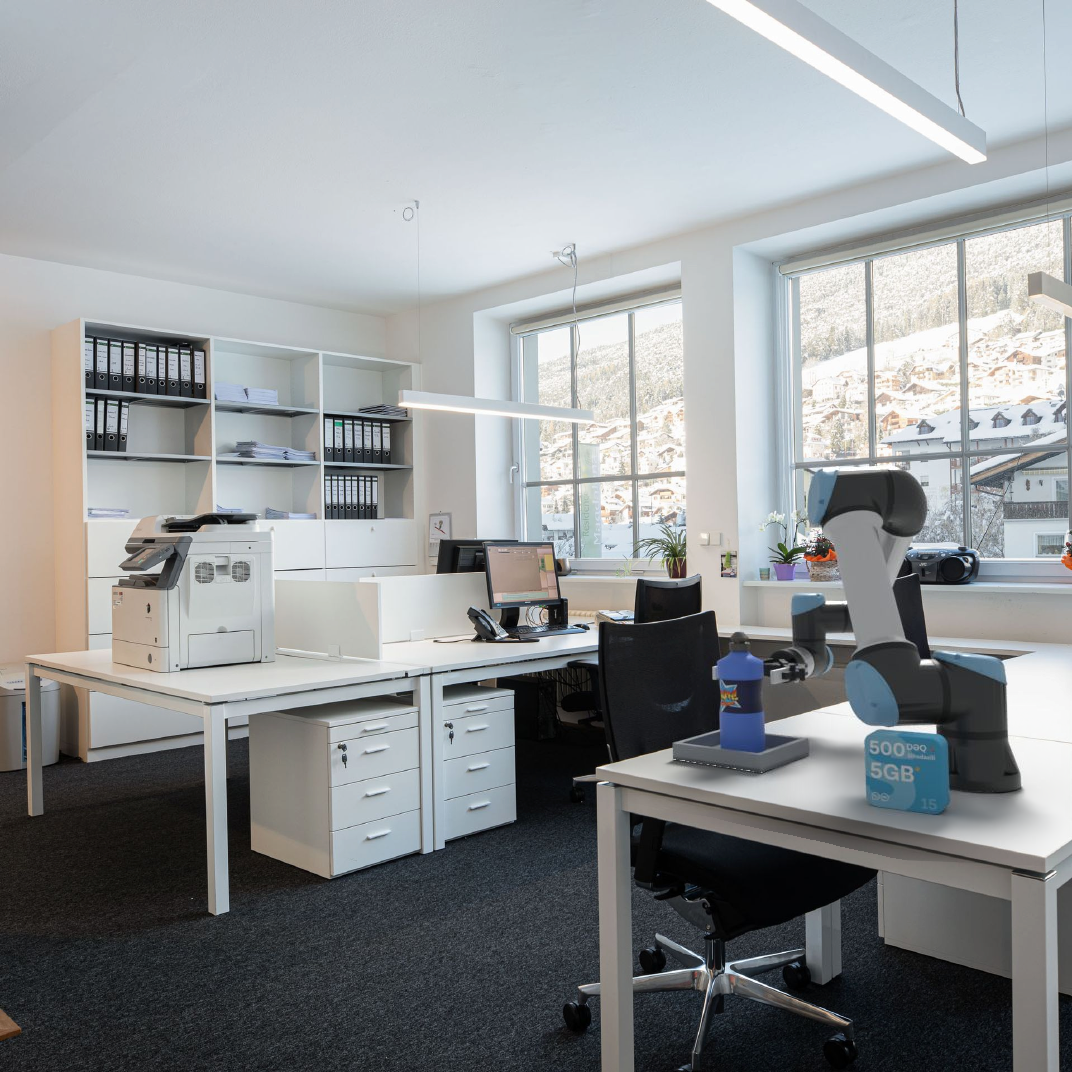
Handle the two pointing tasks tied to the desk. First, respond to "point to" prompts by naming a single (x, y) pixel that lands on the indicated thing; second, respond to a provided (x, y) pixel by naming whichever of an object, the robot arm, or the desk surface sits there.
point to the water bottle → (741, 698)
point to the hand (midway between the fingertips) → (742, 675)
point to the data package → (907, 771)
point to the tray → (741, 752)
